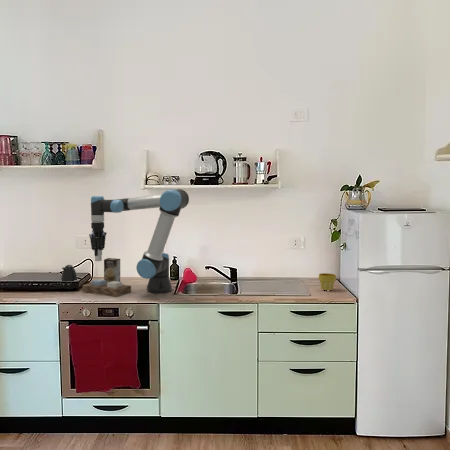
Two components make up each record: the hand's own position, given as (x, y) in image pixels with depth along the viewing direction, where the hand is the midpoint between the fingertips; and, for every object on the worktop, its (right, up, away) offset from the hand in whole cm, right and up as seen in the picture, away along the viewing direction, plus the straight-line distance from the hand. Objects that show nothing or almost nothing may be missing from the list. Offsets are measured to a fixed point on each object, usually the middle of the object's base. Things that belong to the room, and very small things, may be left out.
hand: (98, 260), depth 309 cm
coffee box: (+3, -16, +24) cm, 29 cm away
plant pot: (+139, -19, +8) cm, 141 cm away
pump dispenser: (-19, -18, +6) cm, 27 cm away
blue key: (0, -15, +1) cm, 15 cm away
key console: (+5, -19, -1) cm, 19 cm away
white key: (+11, -16, -4) cm, 19 cm away
